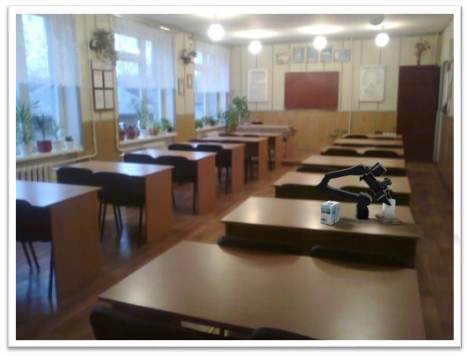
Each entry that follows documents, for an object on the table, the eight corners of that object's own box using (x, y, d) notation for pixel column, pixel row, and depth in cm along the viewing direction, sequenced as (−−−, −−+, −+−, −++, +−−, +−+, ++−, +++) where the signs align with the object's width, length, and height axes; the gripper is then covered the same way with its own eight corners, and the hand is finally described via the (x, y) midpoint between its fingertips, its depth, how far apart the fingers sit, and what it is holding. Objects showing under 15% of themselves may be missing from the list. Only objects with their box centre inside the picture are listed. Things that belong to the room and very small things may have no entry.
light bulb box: (331, 225, 236) (332, 206, 234) (319, 223, 240) (320, 204, 238) (339, 220, 244) (340, 202, 242) (328, 218, 248) (329, 200, 246)
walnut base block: (383, 224, 237) (383, 220, 237) (374, 217, 251) (375, 213, 251) (401, 224, 237) (401, 220, 237) (392, 217, 251) (392, 213, 251)
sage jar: (379, 217, 244) (380, 199, 242) (385, 215, 248) (386, 198, 246) (390, 219, 239) (391, 201, 237) (396, 217, 243) (397, 200, 242)
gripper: (381, 176, 232) (402, 198, 230) (385, 170, 249) (404, 191, 246) (365, 189, 237) (385, 211, 235) (370, 182, 254) (388, 203, 251)
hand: (391, 203), depth 242 cm, fingers open, 9 cm apart
